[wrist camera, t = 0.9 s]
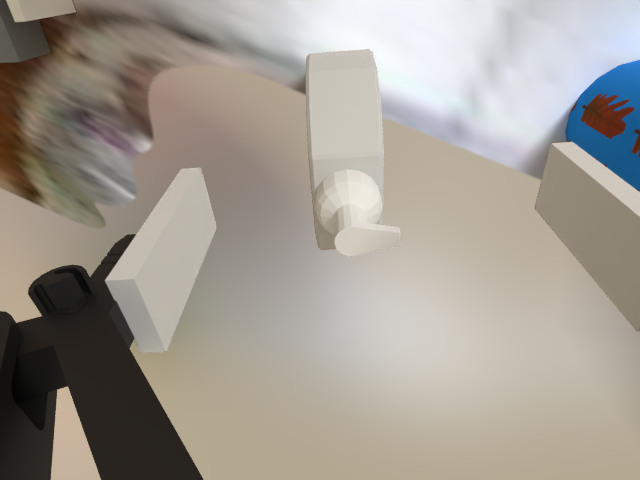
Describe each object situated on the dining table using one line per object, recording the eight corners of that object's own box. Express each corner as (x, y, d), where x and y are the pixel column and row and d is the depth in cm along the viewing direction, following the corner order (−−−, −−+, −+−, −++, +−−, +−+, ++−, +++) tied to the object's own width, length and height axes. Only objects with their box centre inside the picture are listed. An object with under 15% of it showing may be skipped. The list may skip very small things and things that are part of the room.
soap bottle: (369, 198, 45) (396, 336, 28) (321, 201, 45) (319, 339, 28) (369, 36, 36) (408, 97, 19) (308, 41, 36) (295, 105, 19)
